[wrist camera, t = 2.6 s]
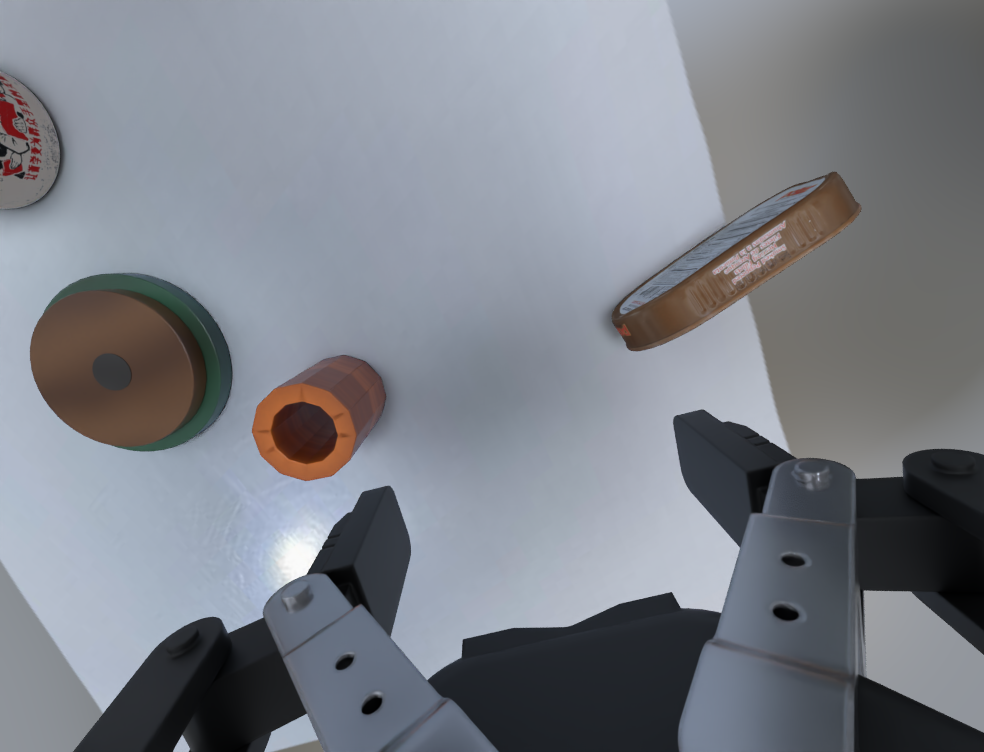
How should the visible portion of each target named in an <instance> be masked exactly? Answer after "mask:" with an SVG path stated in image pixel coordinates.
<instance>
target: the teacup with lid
mask: <svg viewBox="0 0 984 752" xmlns="http://www.w3.org/2000/svg"><path fill="white" fill-rule="evenodd" d="M59 163H60V148H59V141H58V137H57V134H56V130H55V128H54V125H53V123H52V121H51V119H50V117H49V115H48V113H47V111H46V110H45V108H44V107H43V105H42V104H41V102H40V101H39V100H38V99H37V98H36V96H35V95H34V94H33V93H32V92H31V91H30V90H29V89H27V88H26V87H25V86H24V85H23V84H21V83H20V82H19V81H17V80H16V79H14V78H13V77H11V76H9V75H7V74H6V73H4V72H2V71H0V208H1V209H14V208H20V207H24V206H27V205H30V204H32V203H34V202H36V201H37V200H39V199H40V198H42V197H43V196H44V195H45V194H46V193H47V192H48V190H49V189H50V188H51V186H52V185H53V183H54V181H55V178H56V176H57V173H58V169H59Z"/></svg>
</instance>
